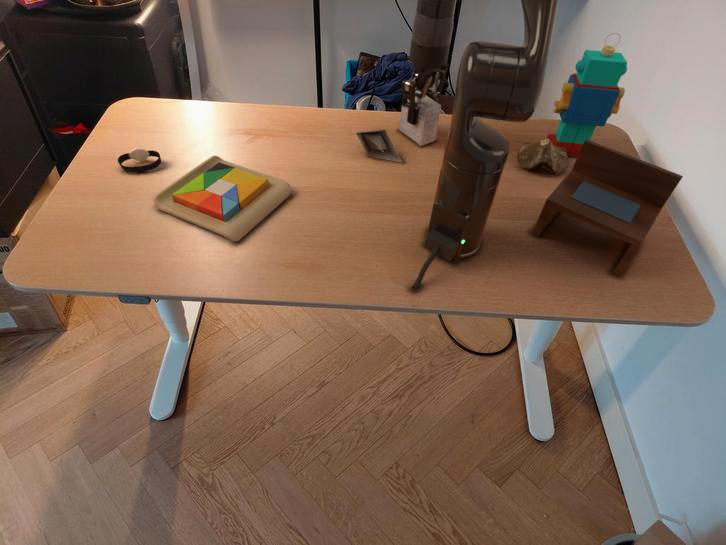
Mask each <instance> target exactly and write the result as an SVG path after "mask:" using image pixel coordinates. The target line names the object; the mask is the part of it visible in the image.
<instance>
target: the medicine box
mask: <svg viewBox="0 0 726 545" xmlns="http://www.w3.org/2000/svg"><path fill="white" fill-rule="evenodd" d="M415 91H416V92H418V93H421V92H422V91H419V90H415ZM407 101H408V99H407ZM416 101H417V97H416V96H415V102H416ZM441 110H442V105H441V104H440V103H438V102H437V101H435V99H434V100H432V99H431V98H429V97H428V96H426V95H425V98H423V99H422V100H421V103H420V106H419V114H418V121H417V124H415V125H412V124H410V123H408V122H407V115H408V108H407V107H404V106H402V105H401V111H400V119H399V127H398V129H399V131H400V132H401V133H403V134H404V135H405V136H407V137H408V138H409V139H411V140H412V141H413V142H414V143H416V144H418V146H420V147H422V146H427V145H428V144H430V143H433V142H435V141H436V140H437V132H438V128H439V122H440V115H441Z"/></svg>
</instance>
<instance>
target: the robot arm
mask: <svg viewBox="0 0 726 545" xmlns="http://www.w3.org/2000/svg"><path fill="white" fill-rule="evenodd" d="M559 1H560V0H520V3H521V8H522V13H523V22H524V23H523V27H524V28H523V29H524V30H523V32H524V34H523V36H524V37H523V45H515V44H510V43H509V44H508V43H501V42H492V41H485V40H474V41H472V42H470V43H469V44H468V45H467V46H466V48H465V50H464V51H463V54H462V56H461V59H460V62H459V67H458V71H457V73H458V74H457V78H456V86H455V90H454V99H453V105H452V113H451V119H450V124H449V129H448V135H447V139H446V142H445V146H444V152H443V155H442V160H441V167H440V170H439V177H438V181H437V186H436V191H435V196H434V201H433V204H432V208H431V209H432V210H431V214H430V219H429V224H428V229H427V233H426V236H425V241H424V247H423V248H424V249H426V250H428V251H429V252H431V253H430V255H429V256H428V257H427V259H426V260H425V262H424V263H423V265H422V267H421V268H420V270H419V272H418V275H417V277H416V279H415V281H414V283H413V284H412V285H411V290H413V291H416V290H417V289H418V288H419V287H420V285H421V283H422V281H423V279H424V276H425V274H426V272H427V271H428V269H429V267H430V266H431V264H432V262H433V261H434V260H435V258H436V257H437V256H438V257H440V258H442V259H444V260H446V261H447V262H451V261H453V262H456V261H458V260H459V259H464V258H469V257H472V256H474V255H475V254H476V253H477V252H478V251H479V250H480V247H481V244H482V240H483V236H484V233H485V230H486V227H487V223H488V220H489V217H490V214H491V211H492V207H493V204H494V201H495V199H496V198H495V197H496V195H497V192H498V189H499V185H500V182H501V179H502V177H503V173H504V170H505V166H506V163H507V160H508V157H509V154H510V142H509V140H508V138H506V136H505V135H504V134H503V133H502V132H500V131H499V130H498V129H496V128H495V127H492V126H490V124H487V123H486V122H484V121H483V120H482V119H488V120H493V121H494V120H495V121H504V122H509V123H515V124H523V123H527V122H528V121H529V120H530V118H532V116H533V114H534V113H535V111H536V109H537V107H538V103H539V101H540V98H541V93H542V89H543V85H544V81H545V76H546V70H547V66H548V62H549V61H548V60H549V55H550V49H551V44H552V40H553V39H552V38H553V33H554V29H555V22H556V18H557V17H556V16H557V12H558V7H559ZM456 4H457V0H416V8H415V14H414V18H413V24H412V32H411V39H410V47H409V48H410V49H409V62H410V63H411V65H412V66H413V69H412V72H411V76H410V78H409V79H403V80H402V81H401V107H402V106H404V107H407V108H408V115H407V122H408V123H410V124H412V125H415V124H417V121H418V114H419V106H420V103H421V100H422V99H423V98H425V95H426V96H428V97H429V98H431V99H432V100H434V101H435V99H436V98H437V97H438V93H441V92H442V91H443V88H444V84H445V80H446V75H447V72H448V70H449V65H450V64H449V63H448V58H449V54H450V48H451V47H450V46H451V41H452V35H453V31H454V17H455V10H456ZM416 91H420V92H421V93H418V92H416ZM415 96H416V97H417V101H416V102H415ZM407 99H408V101H407Z"/></svg>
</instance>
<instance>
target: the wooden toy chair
mask: <svg viewBox="0 0 726 545" xmlns="http://www.w3.org/2000/svg"><path fill="white" fill-rule="evenodd" d="M571 168H572V169H571V170H570V171H569V172H568V174H566V176H565V177H564V178H563V179H562V181H560V183H559V184H558V185H557V186H556V187H555V189H554V190H553V191H552V192H551V193H550V195H549V196H548V197H547V198H546V200H545V202H544V205H543V207H542V209H541V212H540V214H539V215H538V219H537V221H536V224H535V226H534V228H533V231H532V235H534V236H536V237H539V236H540V235H541V234H542V233H543V231H545V229H546V228H547V227H548V225H549V224H550V223H551V221H553V219H554V218H555V216H556V215H557V214H558V213H559V212H561V213H563V214H565V215H567V216H569V217H571V218H574V219H577V220H578V221H580V222H582V223H585V224H587V225H589V226H591V227H593V228H595V229H598V230H600V231H602V232H605V233H606V234H609V235H611V236H613V237H615V238H618V239H619V240H622V241H624V242H627V243H628V244H629V245H628V247H627V249H626V250H625V252H624V254H623V255H622V257H621V259H620V261H619V262H618V264H617V265H616V267H615V269H614V271H613V273H612V274H614V275H616V276H618V277H621V276H622V275H623V273H624V272H625V270H626V269H627V267H628V265H629V264H630V262H631V261H632V260H633V258H634V257H635V255H636V253H637V252H638V250H639V249H640V247H641V246H642V244H643V243H644V241H645V239H646V237H647V236H648V234H649V233H650V231H651V229H652V228H653V225H654V223H655V222H656V220H657V218H658V217H659V214H660V212H661V211H662V210H663V208H664V206H665V204H666V203H667V202H668V200H669V198H670V197H671V196H672V194H673V192H674V191H675V190H676V188H677V186H678V185H679V184H680V182H681V181H682V179H683V177H684V176H683V175H682V174H679V173H676V172H673V171H671V170H669V169H666V168H662V167H660V166H658V165H655V164H653V163H650V162H647V161H645V160H642V159H640V158H637V157H634V156H631V155H630V154H628V153H624V152H621V151H619V150H616V149H613V148H611V147H608V146H606V145H603V144H601V143H598V142H596V141H592V140H591V139H590V140H587V139H586V140H585V141H584V143H583V146H582V148H581V150H580V152H579V155H578V157H576V159H575V162H574V163H573V166H572V167H571Z"/></svg>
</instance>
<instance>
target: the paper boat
mask: <svg viewBox="0 0 726 545" xmlns="http://www.w3.org/2000/svg"><path fill="white" fill-rule="evenodd" d="M355 134H356V136H357V139H358V140H359V142H360V144H361V145H362V147H363V149H364V151H365V152H366V154H367V156H368V157H371V158H375V159H376V158H377V159H381V160H387V161H391V162H392V161H393V162H398V163H403V160H402V159H401V156H400V154H399V153H398V151H397V149H396V147H395V145H394V143H393V142H392V139H391V137H390V136H389V133H388V131H387V130H386V129H373V130H362V131H361V130H360V131H357V132H355Z"/></svg>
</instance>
